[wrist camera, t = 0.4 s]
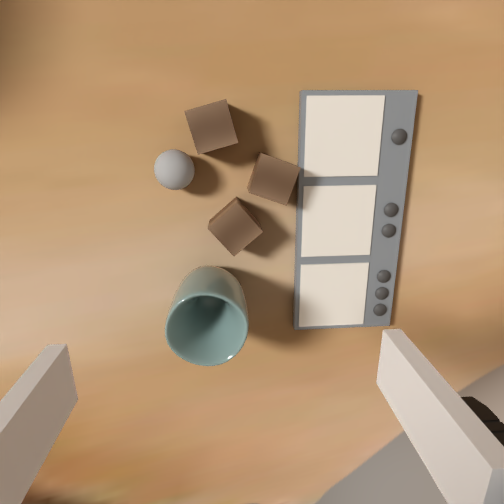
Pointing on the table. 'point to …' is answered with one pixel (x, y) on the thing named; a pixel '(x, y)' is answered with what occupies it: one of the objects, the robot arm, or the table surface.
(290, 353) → the table surface
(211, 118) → the walnut block
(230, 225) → the walnut block
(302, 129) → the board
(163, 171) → the grey ball
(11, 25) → the table surface
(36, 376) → the robot arm
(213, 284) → the cup
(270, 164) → the walnut block
